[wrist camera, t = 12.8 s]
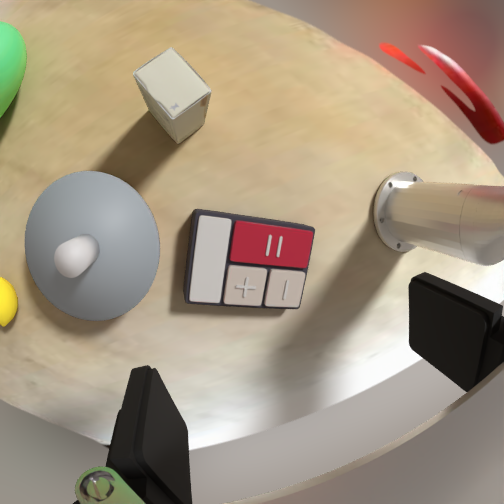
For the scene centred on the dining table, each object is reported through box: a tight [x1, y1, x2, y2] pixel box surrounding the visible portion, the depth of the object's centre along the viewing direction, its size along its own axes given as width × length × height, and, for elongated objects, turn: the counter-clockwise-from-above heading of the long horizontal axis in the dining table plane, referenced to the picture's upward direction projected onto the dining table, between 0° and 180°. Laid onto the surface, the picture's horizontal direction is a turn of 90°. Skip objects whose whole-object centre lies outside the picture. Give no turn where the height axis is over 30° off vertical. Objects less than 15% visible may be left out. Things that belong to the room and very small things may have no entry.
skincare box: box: [133, 47, 211, 144], centre depth 27 cm, size 6×4×12 cm
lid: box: [25, 171, 160, 321], centre depth 25 cm, size 16×16×6 cm
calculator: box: [183, 209, 315, 309], centre depth 37 cm, size 11×4×15 cm
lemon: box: [0, 277, 18, 327], centre depth 29 cm, size 7×5×5 cm
